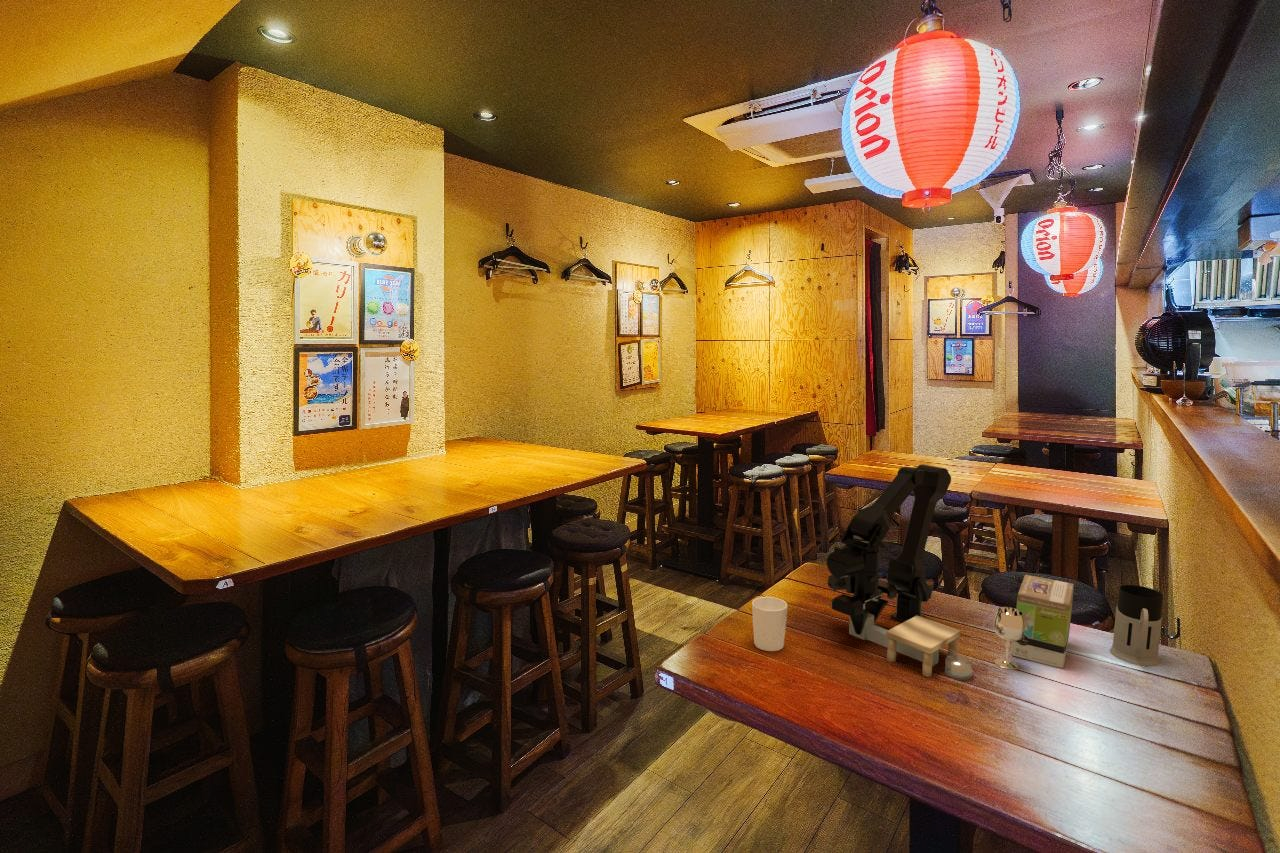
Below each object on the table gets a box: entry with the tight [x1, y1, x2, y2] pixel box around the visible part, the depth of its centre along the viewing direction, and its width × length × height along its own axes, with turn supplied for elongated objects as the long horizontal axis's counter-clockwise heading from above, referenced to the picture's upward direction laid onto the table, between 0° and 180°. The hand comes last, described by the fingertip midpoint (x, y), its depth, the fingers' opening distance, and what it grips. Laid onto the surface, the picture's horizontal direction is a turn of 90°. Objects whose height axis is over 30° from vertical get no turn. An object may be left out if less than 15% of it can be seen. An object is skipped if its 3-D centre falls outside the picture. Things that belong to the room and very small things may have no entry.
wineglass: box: [993, 606, 1025, 670], centre depth 134 cm, size 6×6×12 cm
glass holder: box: [1109, 584, 1164, 667], centre depth 135 cm, size 9×14×15 cm, turn 148°
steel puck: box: [944, 654, 973, 681], centre depth 131 cm, size 5×5×3 cm
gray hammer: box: [848, 613, 940, 667], centre depth 143 cm, size 4×20×5 cm, turn 38°
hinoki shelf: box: [886, 616, 962, 678], centre depth 137 cm, size 13×10×6 cm
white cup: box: [751, 596, 788, 652], centre depth 144 cm, size 8×8×10 cm
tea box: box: [1011, 574, 1075, 669], centre depth 140 cm, size 15×10×15 cm, turn 143°
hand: (863, 631), depth 149 cm, fingers open, 4 cm apart
